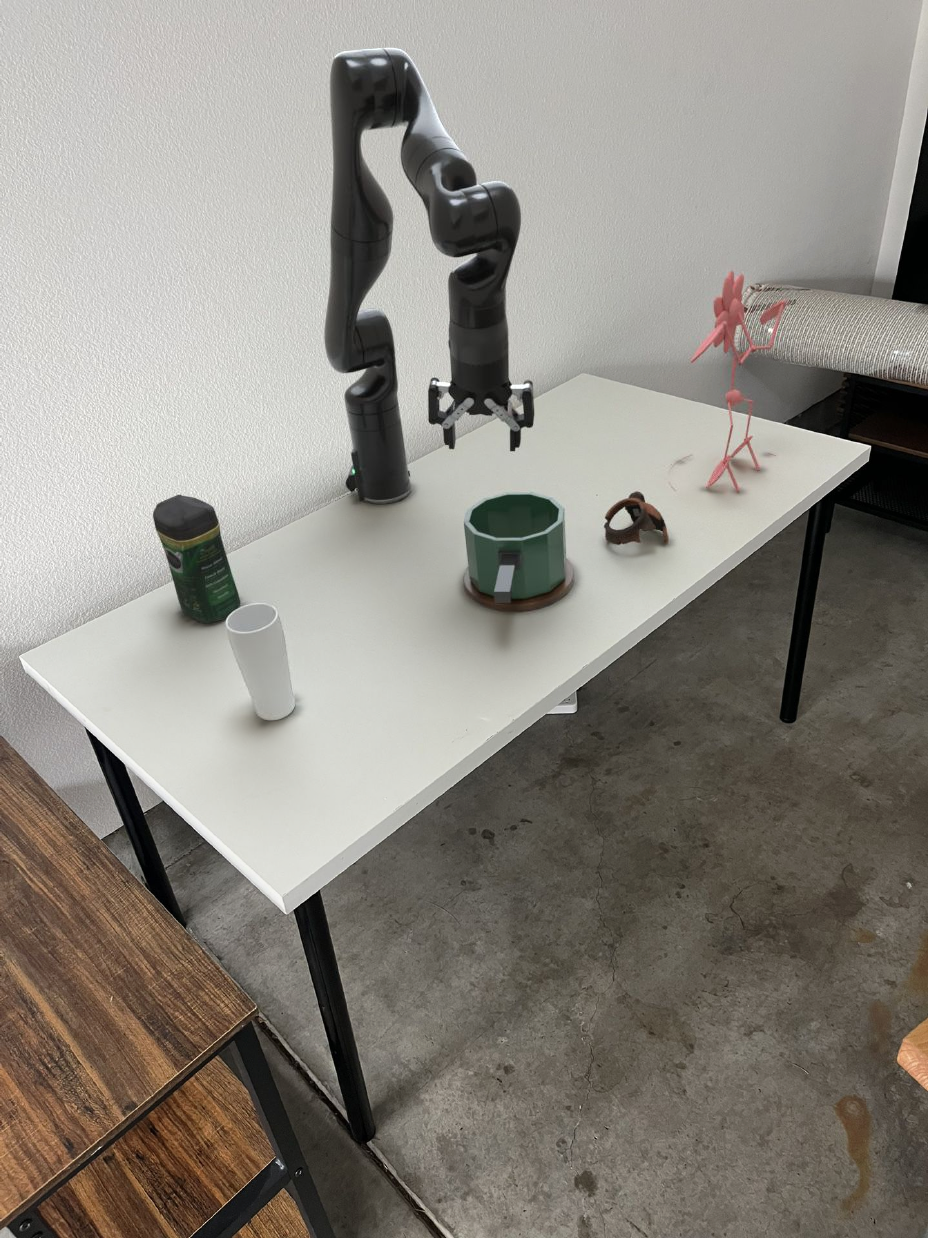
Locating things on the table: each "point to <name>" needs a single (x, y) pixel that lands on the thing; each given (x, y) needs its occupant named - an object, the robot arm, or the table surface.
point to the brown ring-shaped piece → (634, 520)
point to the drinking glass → (262, 658)
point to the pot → (516, 545)
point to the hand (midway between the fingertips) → (482, 446)
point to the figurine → (728, 317)
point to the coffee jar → (196, 558)
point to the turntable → (521, 604)
